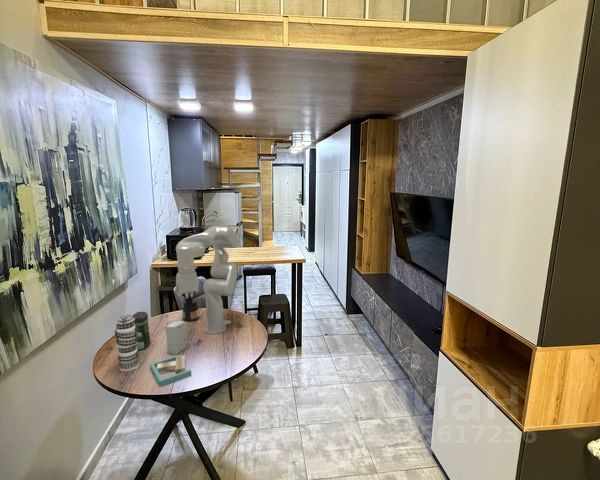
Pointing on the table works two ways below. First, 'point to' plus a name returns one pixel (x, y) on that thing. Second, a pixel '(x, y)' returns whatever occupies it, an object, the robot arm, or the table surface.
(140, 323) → the coffee jar
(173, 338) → the skincare box
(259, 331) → the table surface
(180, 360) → the tee block
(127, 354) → the decorative candle
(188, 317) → the supplement container
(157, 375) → the dock
